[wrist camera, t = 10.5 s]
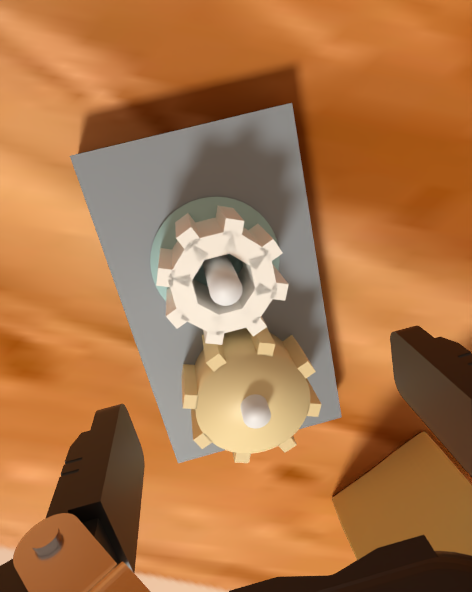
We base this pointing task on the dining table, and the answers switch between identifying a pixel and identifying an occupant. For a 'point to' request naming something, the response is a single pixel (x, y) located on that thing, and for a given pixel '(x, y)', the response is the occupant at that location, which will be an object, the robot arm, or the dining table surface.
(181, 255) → the nylon gear
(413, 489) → the cheese
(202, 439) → the gear board
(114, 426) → the robot arm
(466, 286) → the dining table surface
